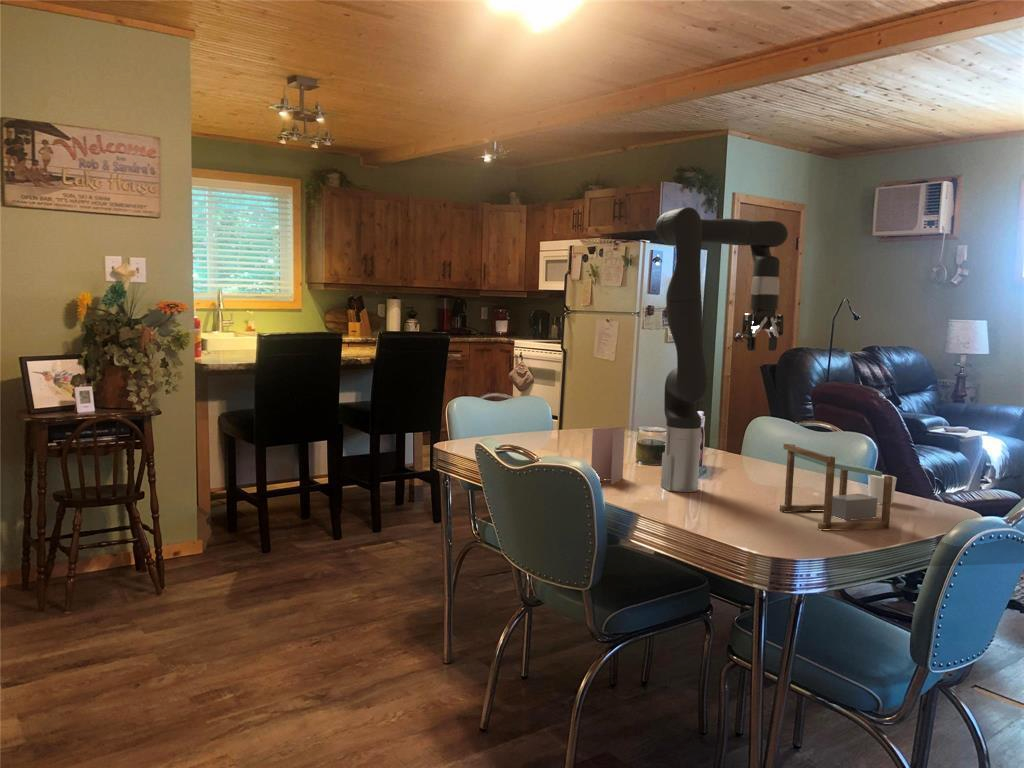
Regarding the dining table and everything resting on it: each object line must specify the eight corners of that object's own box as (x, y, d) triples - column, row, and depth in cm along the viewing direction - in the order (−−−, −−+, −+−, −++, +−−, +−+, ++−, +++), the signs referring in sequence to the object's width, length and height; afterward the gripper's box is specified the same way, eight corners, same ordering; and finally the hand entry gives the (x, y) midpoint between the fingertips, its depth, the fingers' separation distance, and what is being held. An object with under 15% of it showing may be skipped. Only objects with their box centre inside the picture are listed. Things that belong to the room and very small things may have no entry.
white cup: (900, 505, 200) (902, 478, 199) (877, 505, 198) (879, 478, 198) (883, 499, 206) (885, 473, 206) (860, 499, 205) (862, 473, 205)
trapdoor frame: (820, 530, 172) (825, 456, 171) (779, 510, 189) (783, 443, 188) (888, 529, 175) (894, 456, 174) (842, 509, 192) (846, 443, 191)
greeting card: (620, 477, 224) (622, 426, 223) (637, 482, 218) (639, 430, 217) (588, 481, 218) (590, 428, 217) (605, 486, 212) (607, 432, 211)
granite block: (846, 500, 181) (877, 498, 185) (830, 496, 186) (860, 493, 190) (845, 521, 182) (876, 518, 186) (828, 516, 186) (859, 513, 190)
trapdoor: (827, 466, 173) (828, 462, 173) (793, 455, 187) (794, 451, 187) (881, 476, 176) (882, 472, 176) (844, 465, 190) (845, 461, 189)
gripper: (771, 294, 226) (768, 350, 228) (737, 292, 219) (733, 349, 220) (792, 294, 220) (789, 351, 221) (757, 292, 213) (754, 351, 214)
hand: (761, 350), depth 221 cm, fingers open, 8 cm apart
